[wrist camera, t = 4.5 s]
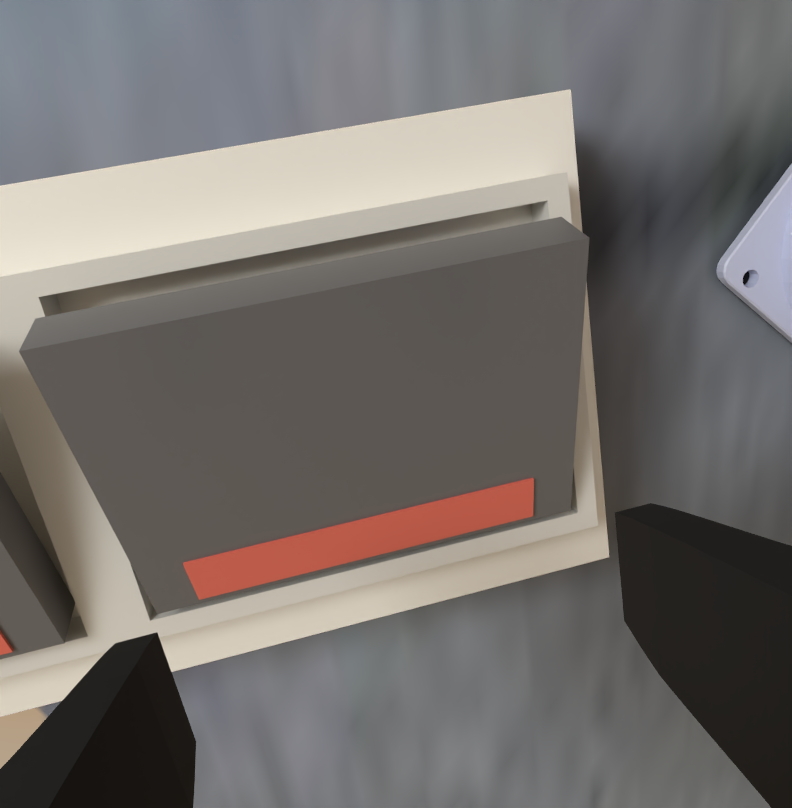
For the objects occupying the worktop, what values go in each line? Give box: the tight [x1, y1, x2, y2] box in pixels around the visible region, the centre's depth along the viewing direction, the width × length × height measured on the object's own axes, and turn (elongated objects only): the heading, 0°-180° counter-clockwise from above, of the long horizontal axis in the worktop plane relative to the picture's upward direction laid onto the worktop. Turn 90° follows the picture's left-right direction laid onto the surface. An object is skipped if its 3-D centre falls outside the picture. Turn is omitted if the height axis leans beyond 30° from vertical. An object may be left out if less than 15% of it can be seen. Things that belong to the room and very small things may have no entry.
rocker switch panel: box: [0, 89, 609, 717], centre depth 16 cm, size 25×12×4 cm, turn 100°
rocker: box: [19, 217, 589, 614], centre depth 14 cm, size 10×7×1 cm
